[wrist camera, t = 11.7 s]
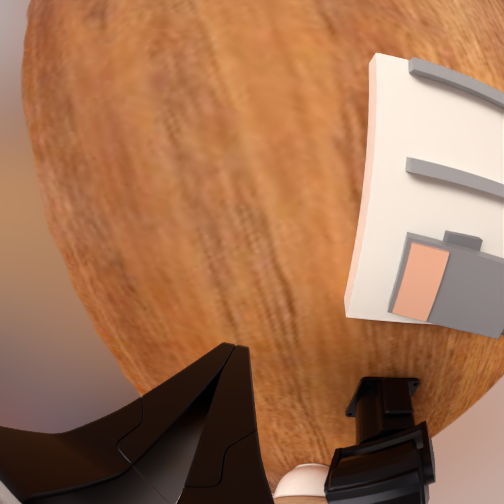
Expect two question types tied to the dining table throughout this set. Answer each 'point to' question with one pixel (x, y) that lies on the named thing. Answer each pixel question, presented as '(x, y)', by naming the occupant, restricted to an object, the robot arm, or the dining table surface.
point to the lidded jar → (302, 485)
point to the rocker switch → (449, 286)
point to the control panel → (425, 173)
